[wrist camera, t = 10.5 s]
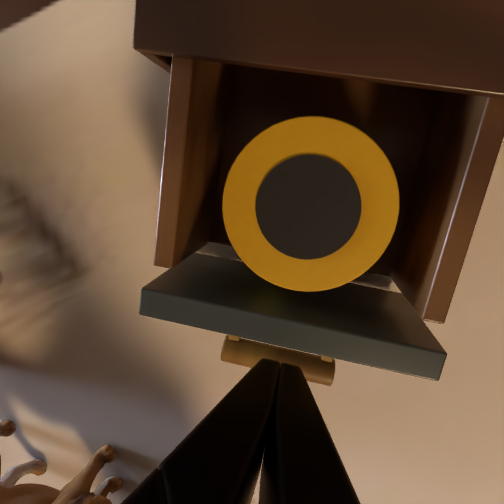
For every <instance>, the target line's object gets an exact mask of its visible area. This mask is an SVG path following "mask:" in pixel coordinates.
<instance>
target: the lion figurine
mask: <svg viewBox="0 0 504 504" xmlns="http://www.w3.org/2000/svg"><path fill="white" fill-rule="evenodd" d="M14 431H15V425H14V423H13V422H12V421H10V420H3V421H1V422H0V436H10V435H12V434H13V432H14ZM115 455H116V452H115V451H114V449H113V448H112V447H111V446H110V445H105V446H103V447H101V448H100V449H99V450H97V451H96V453H95V454H94V456H93V457H92V459H91V460H90V461H89V463H88V465H87V466H86V467H85V468H84V469H83V470H82V471H81V472H80V473H79V474H78V475H77V476H76V477H75V478H74V479H73V480H72V481H71V482H69V483H68V484H67V485H66V486H64V487H63V489H62V490H61V491H59V490H57V489H55V488H52V487H49V486H46V485H41V484H30V483H29V484H18V485H15V484H16V482H17V481H18V480H19V479H20V478H21V477H22V476H24V475H26V474H28V473H33V474H35V475H42V474H44V473H45V472H46V468H47V466H46V464H45V463H44V462H43V461H41V460H38V459H35V460H32V461H30V462H27V463H24V464H21V465H18V466H14V467H11V468H9V469H8V470H7V472H6V473H5V474H4V476H3V477H2V478H1V479H0V504H112V502H111V501H110V500H109V499H107V498H106V496H107V494H108V493H109V492H111V493H114V492H116V491H118V490H120V488H121V486H122V481H121V479H120V478H119V477H116V476H110V477H108V478H107V479H105V480H104V481H103V482H102V483H101V484H99V485H98V486H97V488H96V489H95V491H94V493H93V492H92V493H90V488H91V485H92V483H93V481H94V479H95V477H96V475H97V473H98V472H99V470H100V469H101V468H102V467H103V466H104V465H105V463H108V462H111V461H113V459H114V457H115ZM0 475H1V455H0ZM14 485H15V486H14Z"/></svg>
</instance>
